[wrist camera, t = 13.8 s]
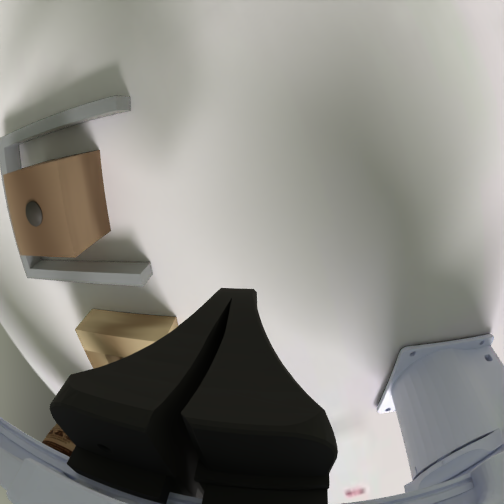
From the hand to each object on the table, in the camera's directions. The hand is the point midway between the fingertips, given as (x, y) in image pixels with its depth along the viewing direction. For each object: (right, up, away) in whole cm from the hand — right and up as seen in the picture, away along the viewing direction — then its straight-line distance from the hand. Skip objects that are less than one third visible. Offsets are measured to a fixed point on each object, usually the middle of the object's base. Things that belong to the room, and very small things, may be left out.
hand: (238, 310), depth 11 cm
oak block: (-8, -5, +9) cm, 13 cm away
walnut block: (-11, +6, +5) cm, 13 cm away
